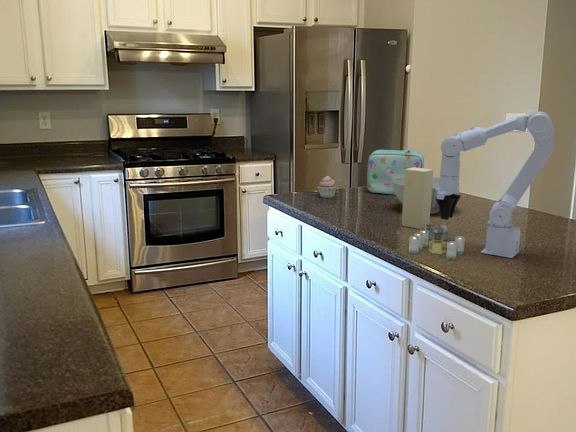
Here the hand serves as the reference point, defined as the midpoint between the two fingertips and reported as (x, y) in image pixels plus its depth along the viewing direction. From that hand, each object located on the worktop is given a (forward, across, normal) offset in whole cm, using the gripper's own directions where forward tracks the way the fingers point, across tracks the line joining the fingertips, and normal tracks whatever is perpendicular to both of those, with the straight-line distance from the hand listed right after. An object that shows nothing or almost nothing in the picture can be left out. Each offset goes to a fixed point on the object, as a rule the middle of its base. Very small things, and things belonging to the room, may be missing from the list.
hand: (446, 218), depth 180 cm
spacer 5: (+9, +4, +6) cm, 12 cm away
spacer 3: (+9, +3, -6) cm, 12 cm away
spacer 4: (+9, +11, +6) cm, 16 cm away
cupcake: (+10, -48, -74) cm, 88 cm away
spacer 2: (+9, +8, -6) cm, 13 cm away
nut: (+10, +6, 0) cm, 12 cm away
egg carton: (+10, -11, -7) cm, 16 cm away
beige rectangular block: (+10, -20, -18) cm, 29 cm away
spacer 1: (+9, +12, -6) cm, 16 cm away
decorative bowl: (+10, -46, -26) cm, 54 cm away
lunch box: (+10, -74, -52) cm, 90 cm away
